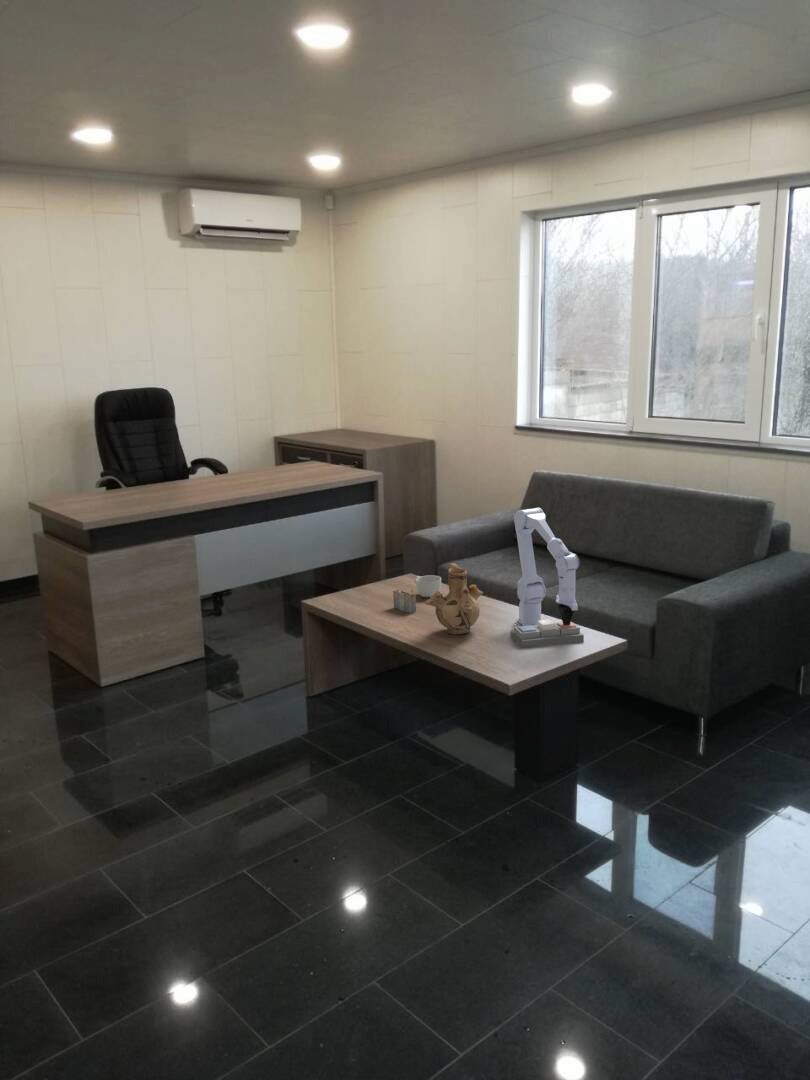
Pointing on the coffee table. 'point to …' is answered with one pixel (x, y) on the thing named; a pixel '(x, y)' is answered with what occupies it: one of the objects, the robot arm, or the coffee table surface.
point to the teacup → (428, 585)
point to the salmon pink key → (566, 625)
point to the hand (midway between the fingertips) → (566, 624)
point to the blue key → (526, 628)
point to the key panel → (547, 636)
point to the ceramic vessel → (457, 602)
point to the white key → (546, 624)
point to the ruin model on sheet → (405, 601)
